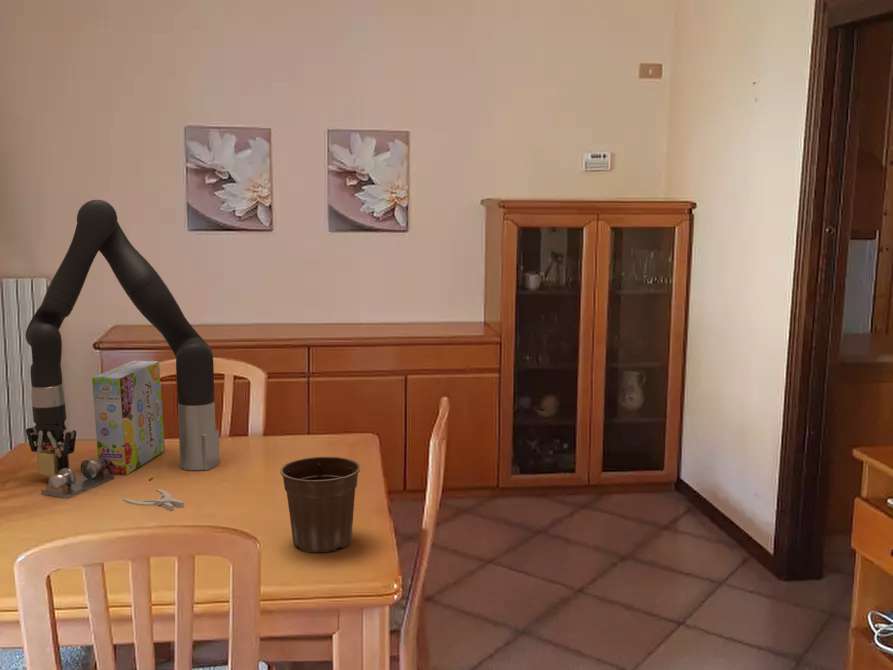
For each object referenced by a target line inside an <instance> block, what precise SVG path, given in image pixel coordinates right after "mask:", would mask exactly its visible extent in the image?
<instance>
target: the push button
mask: <svg viewBox="0 0 893 670" xmlns="http://www.w3.org/2000/svg"><path fill="white" fill-rule="evenodd" d="M57 444H60V442H59V443H57ZM45 448H48V449H45V450H42V451H39V452H36V455H37V456H36V458H37V459H36V460H37V467H38V468H37V469H38V470H37V471H38V475H44V476H50V477H52V476H54V475H57V474H58V473H59V467H58V455H57V452H56V449H54V448H53V446H52V444H50V443H48V444H45ZM60 448H61V447H60ZM61 451H63V450H62V448H61ZM67 458H68V468H69V469H70V460H69V455H68V456H67Z"/></svg>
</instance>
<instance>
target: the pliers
mask: <svg viewBox="0 0 893 670" xmlns="http://www.w3.org/2000/svg"><path fill="white" fill-rule="evenodd" d="M155 491H156V492H158V493H160V494H161V495H160V496H159V497H158V499H156V500H152V499H151V500H150V499H148V500H146V499H145V500H139V501H138V500H133V499H128V498H127V497H126V498H125V497H124V498H122V501H123V502H125V503H127V504H131V505H136V506H144V507H147V506H148V507H149V506H153V507H154V506H155V507H159V506H161V507H162V508H163V509H164V510H167V511H170V512H173V511H174V508H179V509H183V508H185V505H184V503H185V502H184V501H182V500H178V499H175V498H172V496H171V494H170V493H169V492H168V491H166V490H163V489H159V488H156V489H155Z"/></svg>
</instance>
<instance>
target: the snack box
mask: <svg viewBox="0 0 893 670" xmlns="http://www.w3.org/2000/svg"><path fill="white" fill-rule="evenodd" d="M160 371H161V370H160V361H159V360H158V361H156V360H150V361H149V360H132V361H129V362H126V363H124V364H122V365H119V366H117V367H115V368H114V367H113V368H112V369H109V370H107V371H105V372H102V373H100V374H99V373H98V374H97V375H95V376H92V377H91V384H92V396H93V406H94V408H93V409H94V419H95V420H94V421H95V434H96V447H97V448H96V449H97V459H98V458H102V459H103V460H104V461H105V463H106V469H109V475H122V476H128V475H129V474H131V473H132V472H134V471H135V470H137V469H138V468H140V467H141V466H143V465H145V464H146V463H148V462H149V461H151V460H152V459H154V458H156V457H157V456H158V455H159V456H160V454H162V453H163V452H165V451H166V443H165V442H166V441H165V440H166V439H165V430H164V429H165V428H164V414H163V400H162V387H161V386H162V385H161V372H160Z"/></svg>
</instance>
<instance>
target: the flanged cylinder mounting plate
mask: <svg viewBox="0 0 893 670" xmlns="http://www.w3.org/2000/svg"><path fill="white" fill-rule="evenodd" d="M79 470H80V473H81V474H80V475H78V476H76V474H75V472H74V471H73V470H72V468H70V467H69V468H63V469H61V470H60V471H59V473H58V474H57V475H54V476H49V478H48V484H46V486H45V489H43V490H41V491H40V494H41V495H43V496H49V497H50V496H51V497H56V498H63V499H70V498H72V497H75V496H77V495H79V494H82V493H84V492H87V491H89V490H92V489H94V488H95V487H98V486H101V485H102V484H105V483H108V482H110V481H112V480H115V475H114V474H109V469H106V463H105V461H104V460H103V459H102V458H98V457H97V458H96V459H93V460H92V459H91V458H90V459H88V458H87V459H84V460H83V461H81V463H80V467H79Z"/></svg>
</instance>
